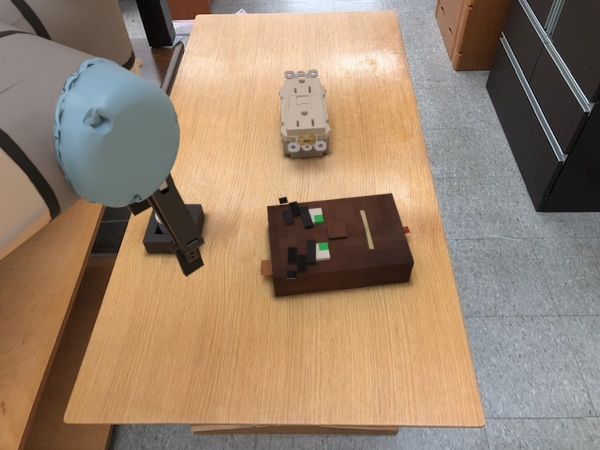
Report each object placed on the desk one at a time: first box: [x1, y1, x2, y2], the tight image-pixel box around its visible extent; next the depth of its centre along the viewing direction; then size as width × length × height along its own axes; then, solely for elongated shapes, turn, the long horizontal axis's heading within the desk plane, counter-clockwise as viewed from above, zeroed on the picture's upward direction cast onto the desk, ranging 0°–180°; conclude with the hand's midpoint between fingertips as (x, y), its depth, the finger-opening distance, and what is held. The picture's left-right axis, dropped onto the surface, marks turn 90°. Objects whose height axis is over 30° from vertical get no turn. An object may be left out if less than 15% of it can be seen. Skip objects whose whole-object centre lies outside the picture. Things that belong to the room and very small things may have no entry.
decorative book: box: [260, 192, 415, 298], centre depth 86 cm, size 19×8×30 cm
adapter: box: [141, 203, 206, 255], centre depth 92 cm, size 10×10×4 cm
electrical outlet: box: [278, 68, 332, 159], centre depth 109 cm, size 12×28×10 cm, turn 3°
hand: (166, 238), depth 60 cm, fingers open, 13 cm apart
